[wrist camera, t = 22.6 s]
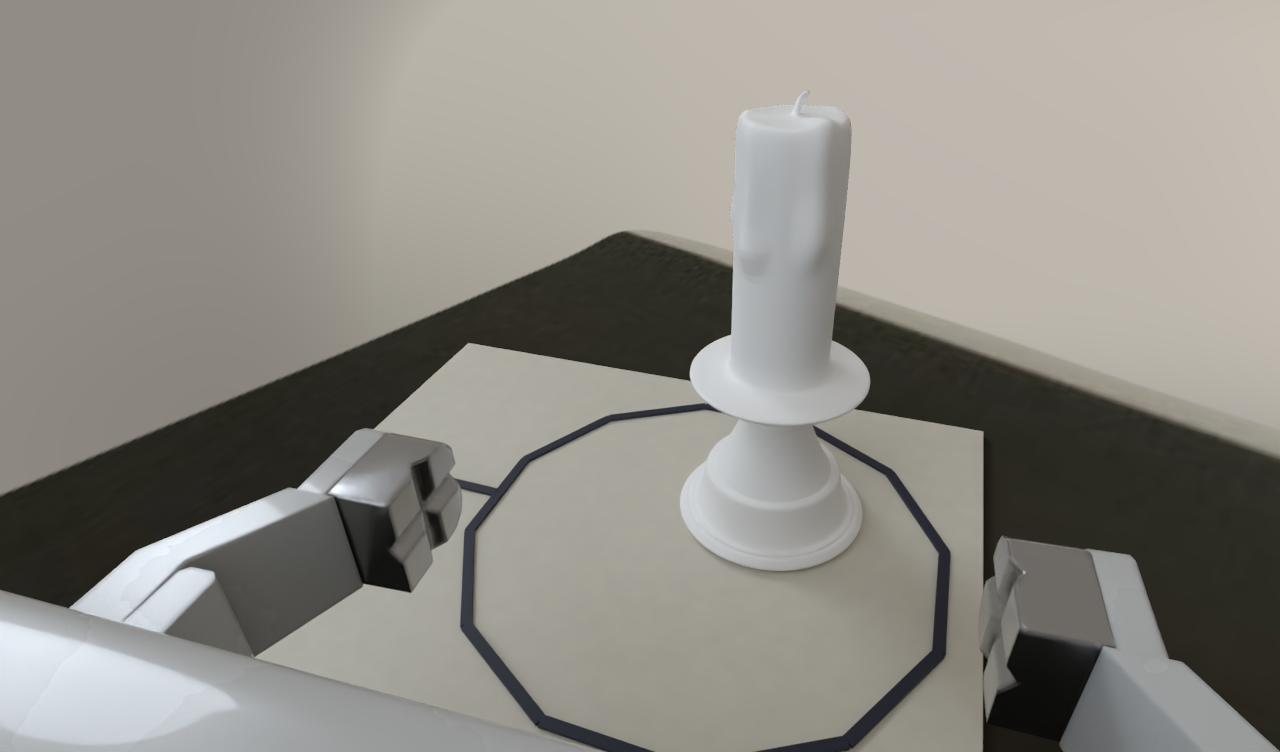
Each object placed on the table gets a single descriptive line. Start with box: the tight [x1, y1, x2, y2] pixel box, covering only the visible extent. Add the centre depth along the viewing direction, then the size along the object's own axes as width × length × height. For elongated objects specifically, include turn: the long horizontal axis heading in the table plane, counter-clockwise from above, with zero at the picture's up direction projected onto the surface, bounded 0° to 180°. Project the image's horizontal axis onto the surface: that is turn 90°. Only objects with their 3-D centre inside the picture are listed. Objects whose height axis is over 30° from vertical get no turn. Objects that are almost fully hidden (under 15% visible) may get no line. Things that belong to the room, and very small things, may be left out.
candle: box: [680, 91, 870, 571], centre depth 20 cm, size 5×5×12 cm
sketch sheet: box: [255, 343, 983, 752], centre depth 23 cm, size 20×16×1 cm
